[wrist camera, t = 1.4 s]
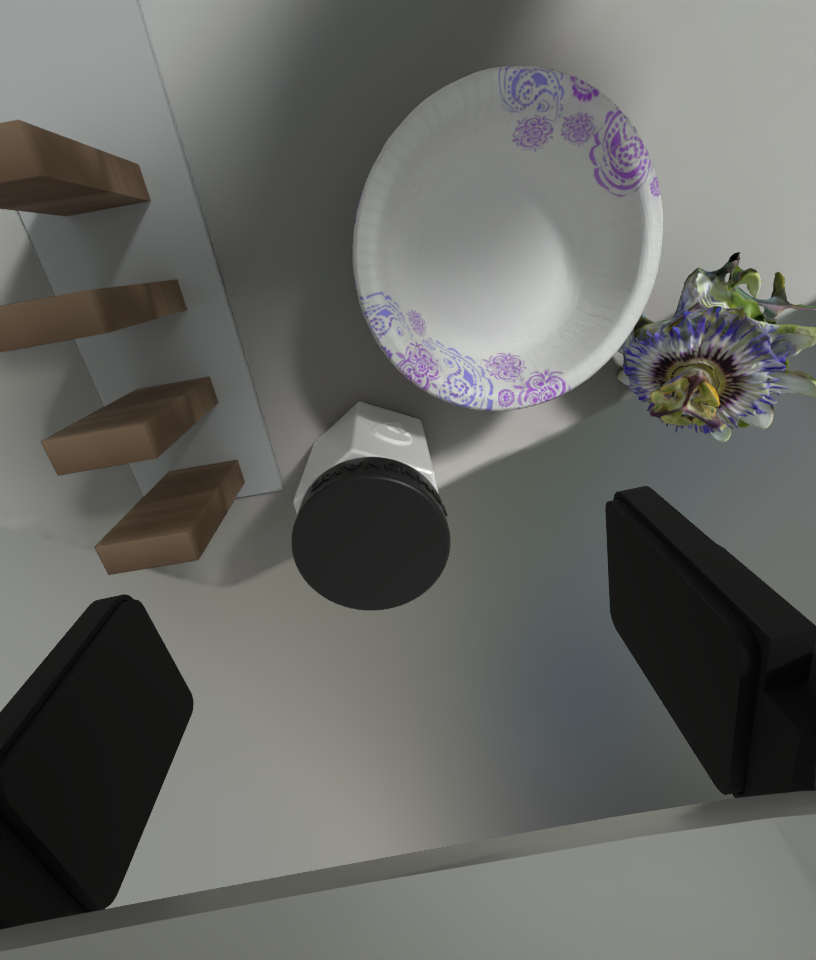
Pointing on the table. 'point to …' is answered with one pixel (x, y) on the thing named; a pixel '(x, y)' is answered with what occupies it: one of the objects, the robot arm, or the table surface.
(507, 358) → the paper bowls
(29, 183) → the tile
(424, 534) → the jar
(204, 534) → the tile
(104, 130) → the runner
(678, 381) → the passion flower
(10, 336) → the tile
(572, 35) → the table surface
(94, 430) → the tile
